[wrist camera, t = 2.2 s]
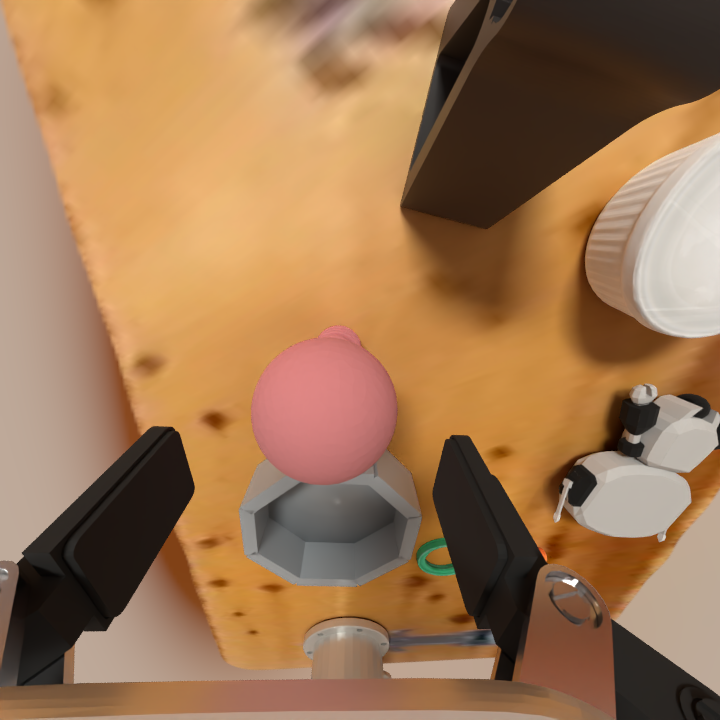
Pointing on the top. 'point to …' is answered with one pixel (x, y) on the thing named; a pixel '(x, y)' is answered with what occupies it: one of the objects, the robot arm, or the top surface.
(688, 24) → the phone stand
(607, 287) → the ramekin
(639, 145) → the top surface
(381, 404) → the light bulb
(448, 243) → the top surface
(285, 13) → the top surface
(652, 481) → the robot toy
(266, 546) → the ceramic bowl
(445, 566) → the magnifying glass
